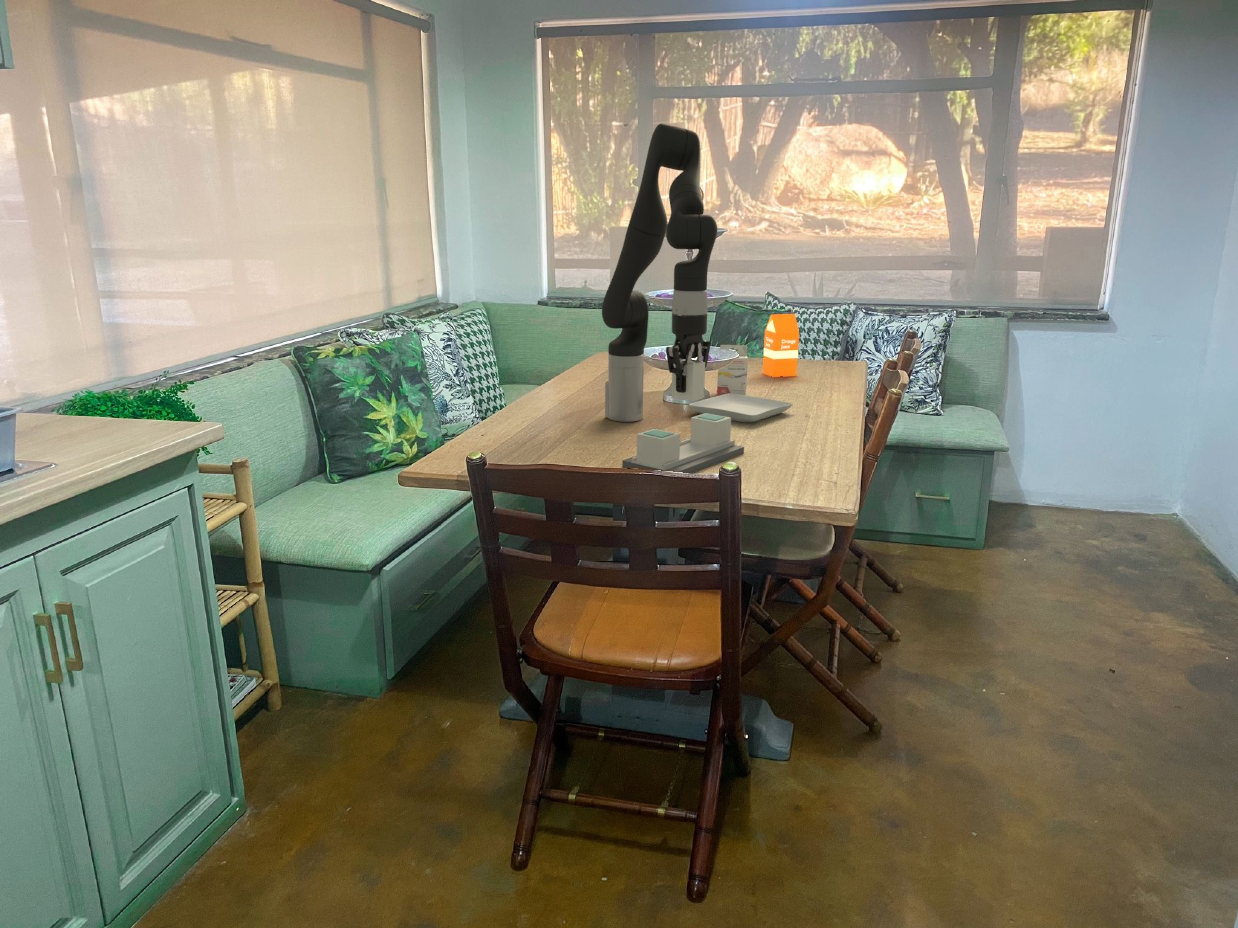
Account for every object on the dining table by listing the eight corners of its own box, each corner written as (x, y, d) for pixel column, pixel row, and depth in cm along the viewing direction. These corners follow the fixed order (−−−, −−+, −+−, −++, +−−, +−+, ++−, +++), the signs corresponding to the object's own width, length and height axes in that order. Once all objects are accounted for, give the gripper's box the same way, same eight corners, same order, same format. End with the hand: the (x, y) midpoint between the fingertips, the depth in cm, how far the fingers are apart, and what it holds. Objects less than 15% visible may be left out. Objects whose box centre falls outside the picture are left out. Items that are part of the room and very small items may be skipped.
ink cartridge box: (717, 396, 266) (719, 347, 262) (716, 393, 271) (718, 344, 266) (746, 397, 265) (748, 347, 261) (745, 393, 270) (747, 345, 266)
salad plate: (728, 403, 259) (728, 391, 258) (793, 414, 246) (794, 402, 245) (685, 415, 243) (686, 403, 242) (753, 428, 230) (754, 415, 229)
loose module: (671, 398, 197) (671, 361, 195) (682, 394, 200) (683, 359, 198) (692, 401, 193) (693, 364, 191) (704, 398, 197) (705, 362, 194)
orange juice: (762, 373, 303) (765, 313, 297) (785, 371, 305) (789, 312, 300) (772, 377, 296) (776, 316, 290) (796, 375, 298) (800, 315, 292)
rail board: (622, 467, 195) (622, 430, 193) (693, 442, 215) (694, 409, 213) (674, 479, 186) (675, 442, 184) (743, 453, 206) (745, 418, 204)
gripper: (694, 307, 199) (692, 383, 204) (655, 313, 188) (654, 393, 193) (722, 310, 194) (720, 387, 199) (684, 316, 184) (682, 397, 189)
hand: (687, 389), depth 196 cm, fingers closed on loose module, 4 cm apart
